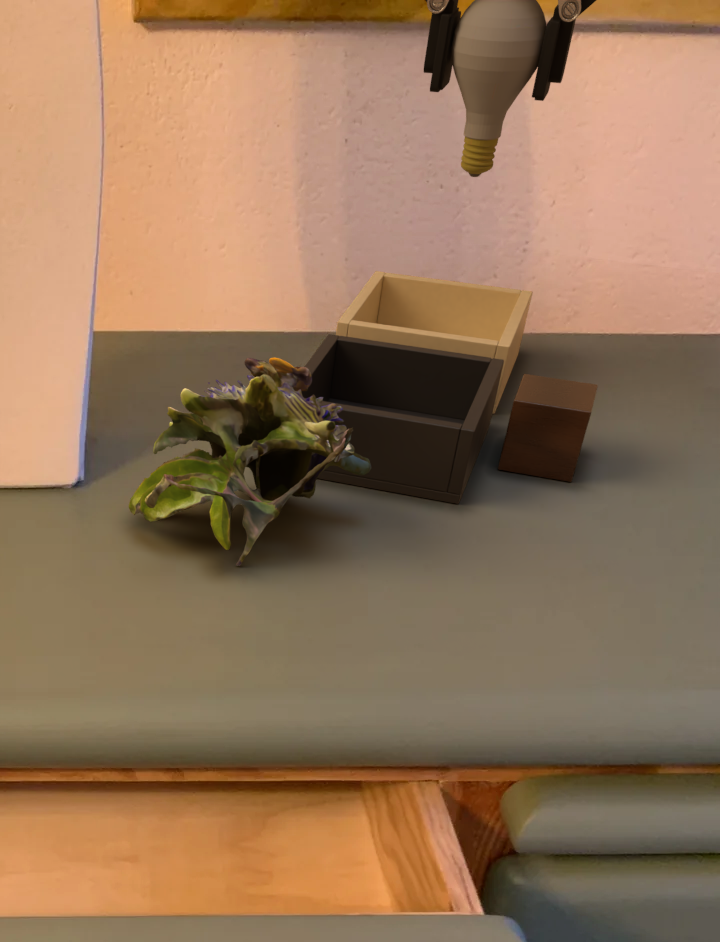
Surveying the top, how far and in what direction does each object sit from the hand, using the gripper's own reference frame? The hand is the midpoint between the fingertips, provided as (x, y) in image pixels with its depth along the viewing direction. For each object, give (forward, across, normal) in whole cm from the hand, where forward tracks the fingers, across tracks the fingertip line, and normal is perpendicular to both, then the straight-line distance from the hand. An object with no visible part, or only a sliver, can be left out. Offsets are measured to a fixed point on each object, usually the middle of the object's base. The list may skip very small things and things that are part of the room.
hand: (489, 88), depth 71 cm
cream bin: (+18, +1, -2) cm, 18 cm away
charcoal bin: (+18, +1, +12) cm, 22 cm away
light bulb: (+5, 0, 0) cm, 5 cm away
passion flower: (+18, +6, +26) cm, 33 cm away
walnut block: (+18, -8, +11) cm, 23 cm away
